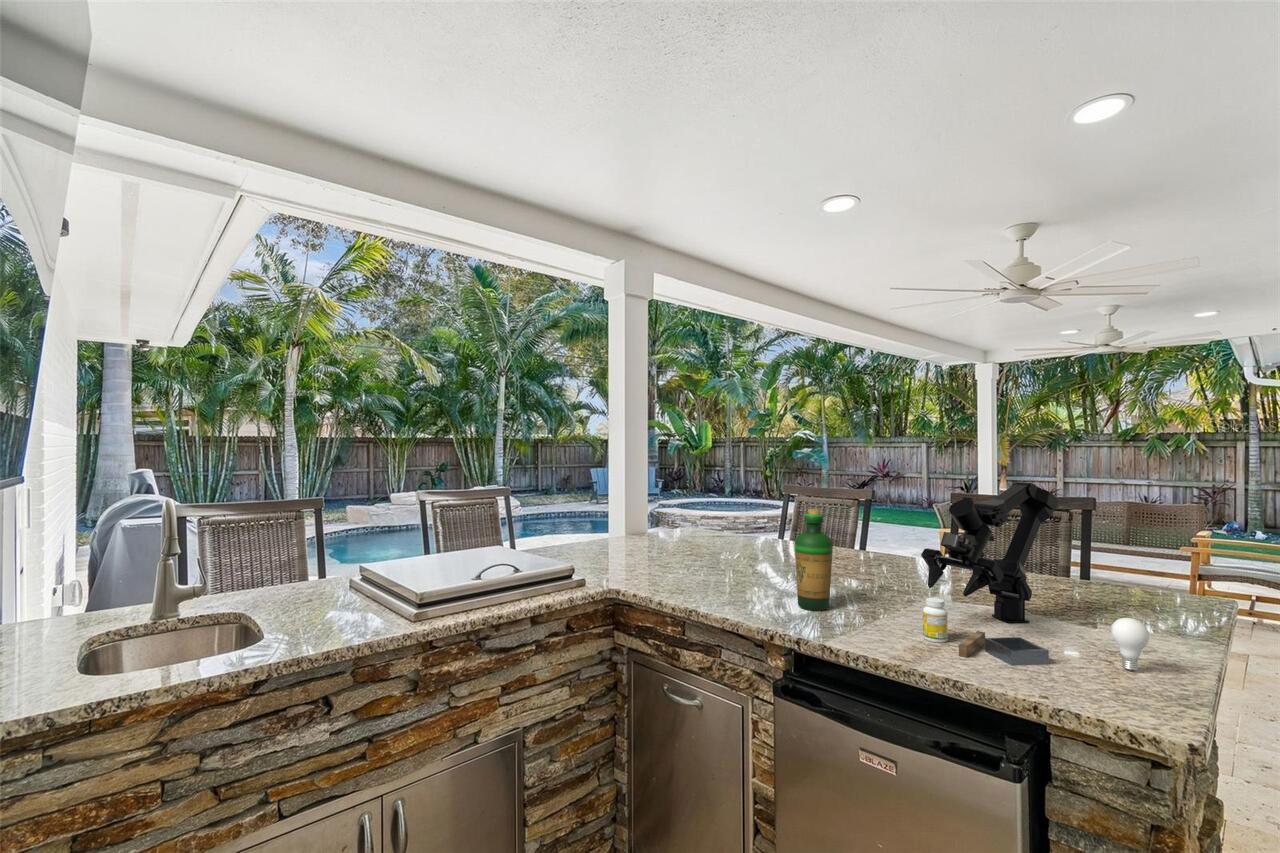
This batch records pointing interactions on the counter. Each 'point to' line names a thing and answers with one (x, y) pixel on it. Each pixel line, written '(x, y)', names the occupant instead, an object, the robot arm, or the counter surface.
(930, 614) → the supplement bottle
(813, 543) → the bottle
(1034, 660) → the metal pocket
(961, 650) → the brown wooden bar
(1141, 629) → the lightbulb
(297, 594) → the counter surface
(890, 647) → the counter surface
